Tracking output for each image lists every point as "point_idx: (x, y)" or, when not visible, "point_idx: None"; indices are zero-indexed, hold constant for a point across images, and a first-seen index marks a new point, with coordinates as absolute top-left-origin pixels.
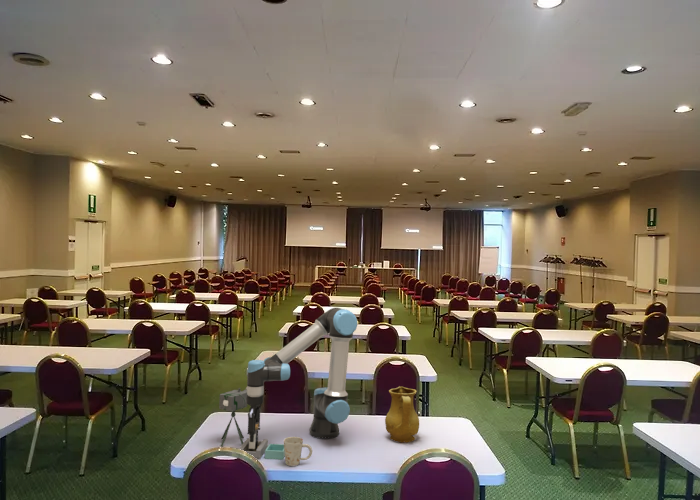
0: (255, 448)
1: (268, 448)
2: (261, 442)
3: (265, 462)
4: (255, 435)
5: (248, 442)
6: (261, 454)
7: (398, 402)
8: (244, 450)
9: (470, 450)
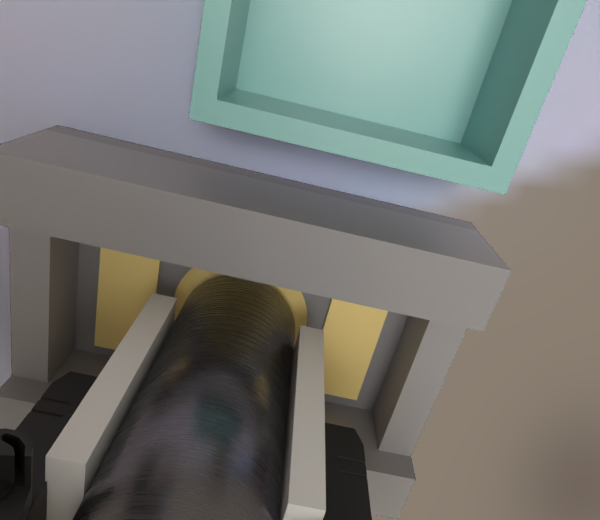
0: (283, 316)
1: (370, 134)
2: (52, 242)
3: (592, 153)
4: (297, 475)
5: None
6: (420, 222)
7: None
8: None
9: None
